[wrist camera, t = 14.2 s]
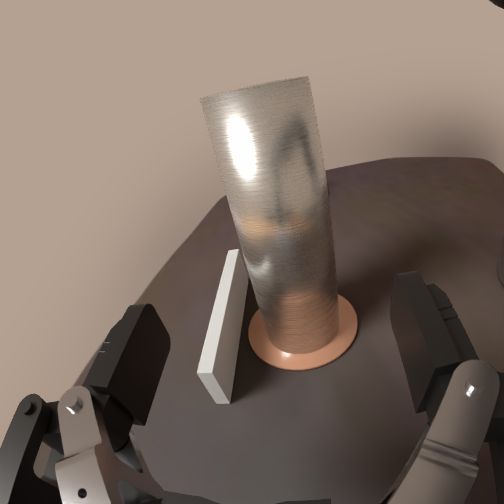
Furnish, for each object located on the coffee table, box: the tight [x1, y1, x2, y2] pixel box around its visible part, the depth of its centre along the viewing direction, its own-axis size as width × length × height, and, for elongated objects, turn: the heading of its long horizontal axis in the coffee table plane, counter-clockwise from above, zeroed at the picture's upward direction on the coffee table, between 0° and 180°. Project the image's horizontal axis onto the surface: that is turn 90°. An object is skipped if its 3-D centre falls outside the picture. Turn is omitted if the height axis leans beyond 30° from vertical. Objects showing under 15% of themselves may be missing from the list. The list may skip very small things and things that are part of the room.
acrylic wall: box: [197, 249, 248, 404], centre depth 24 cm, size 14×1×4 cm, turn 175°
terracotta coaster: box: [248, 294, 357, 371], centre depth 24 cm, size 9×9×1 cm
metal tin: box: [200, 76, 339, 354], centre depth 19 cm, size 6×6×18 cm
